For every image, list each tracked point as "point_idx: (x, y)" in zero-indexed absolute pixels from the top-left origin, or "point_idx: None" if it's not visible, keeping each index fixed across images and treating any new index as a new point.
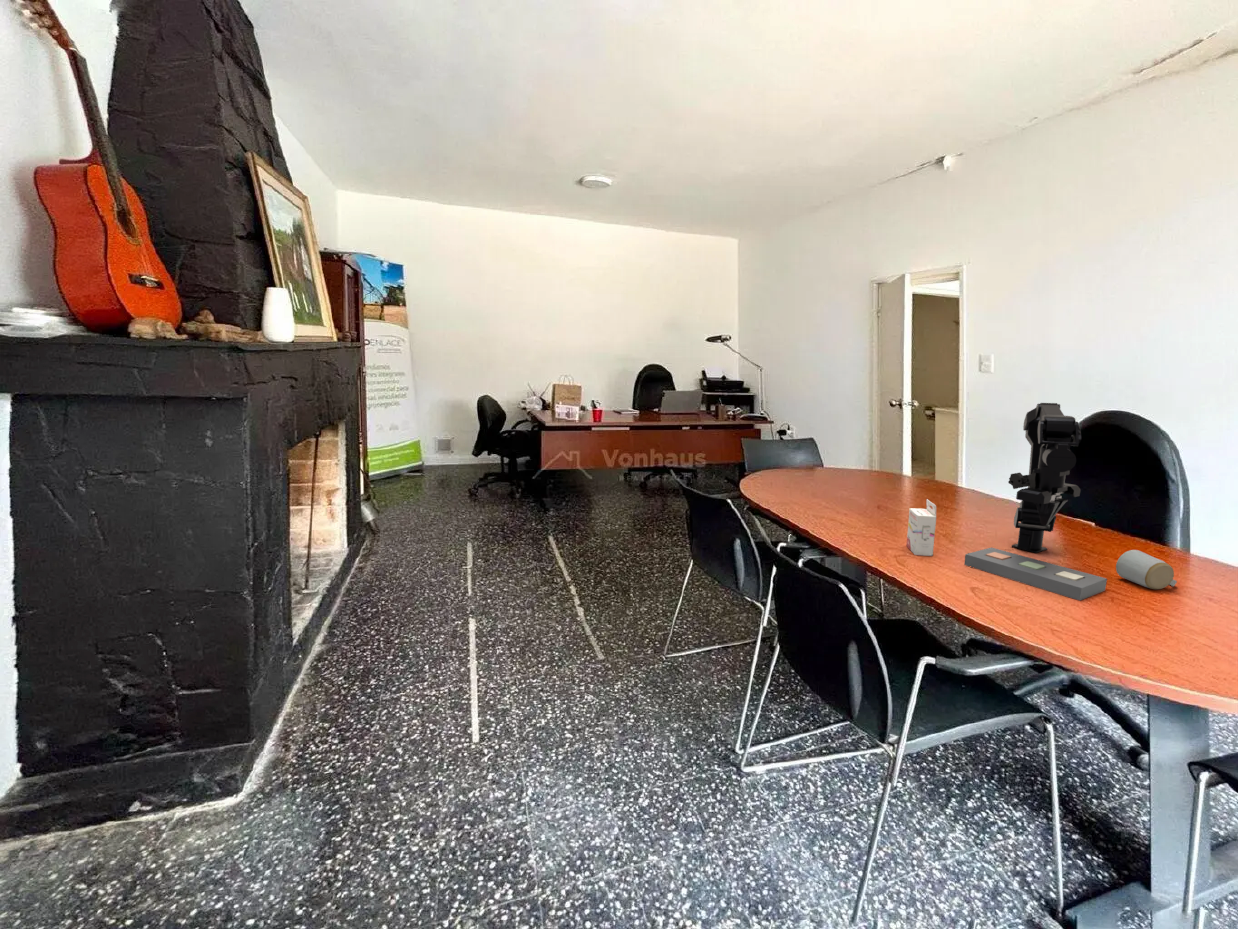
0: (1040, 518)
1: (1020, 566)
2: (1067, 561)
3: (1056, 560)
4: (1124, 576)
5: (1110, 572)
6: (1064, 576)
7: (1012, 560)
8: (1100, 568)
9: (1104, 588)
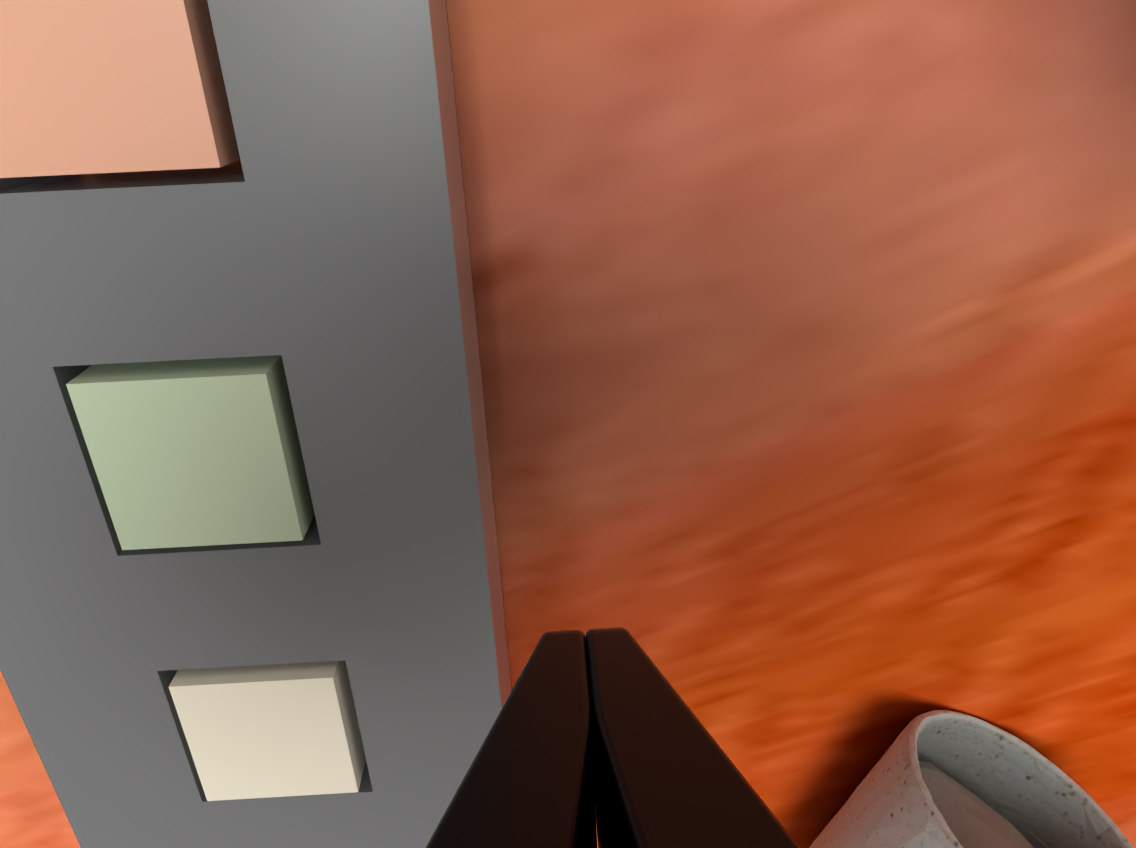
0: (487, 751)
1: (31, 424)
2: (1106, 307)
3: (1053, 236)
4: (876, 764)
5: (1034, 612)
6: (188, 742)
7: (124, 260)
8: (1096, 536)
9: None
